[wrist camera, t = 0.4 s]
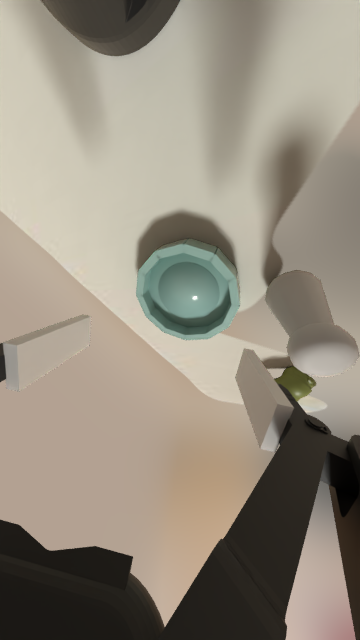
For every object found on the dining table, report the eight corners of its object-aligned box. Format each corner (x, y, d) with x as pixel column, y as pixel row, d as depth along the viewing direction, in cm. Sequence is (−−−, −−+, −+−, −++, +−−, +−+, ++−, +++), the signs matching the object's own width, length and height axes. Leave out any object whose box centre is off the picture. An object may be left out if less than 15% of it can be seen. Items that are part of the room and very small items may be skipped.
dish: (151, 226, 23) (141, 230, 21) (257, 259, 22) (259, 267, 20) (141, 311, 32) (133, 321, 30) (218, 339, 31) (216, 351, 29)
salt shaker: (257, 276, 24) (269, 343, 13) (308, 255, 21) (374, 318, 11) (272, 312, 26) (293, 392, 16) (320, 297, 23) (384, 383, 13)
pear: (249, 407, 30) (307, 377, 26) (245, 382, 35) (293, 354, 30) (272, 424, 31) (331, 399, 27) (264, 398, 36) (313, 373, 31)
